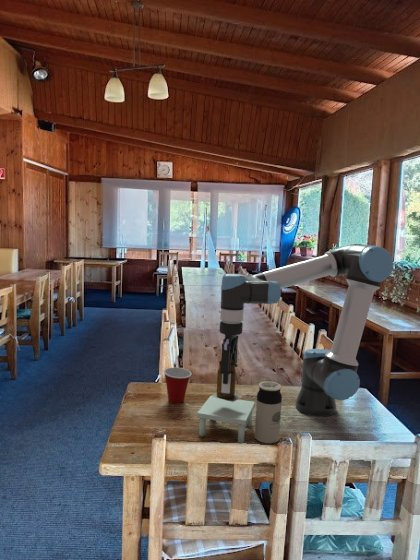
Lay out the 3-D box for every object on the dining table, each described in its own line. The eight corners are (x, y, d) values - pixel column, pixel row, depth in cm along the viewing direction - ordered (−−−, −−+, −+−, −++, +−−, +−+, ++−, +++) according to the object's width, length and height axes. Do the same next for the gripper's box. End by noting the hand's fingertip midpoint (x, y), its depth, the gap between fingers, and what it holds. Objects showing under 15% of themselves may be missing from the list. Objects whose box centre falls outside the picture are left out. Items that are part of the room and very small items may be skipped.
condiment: (222, 390, 154) (224, 356, 153) (244, 396, 150) (245, 361, 148) (210, 396, 148) (212, 361, 147) (232, 403, 144) (234, 366, 142)
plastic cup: (186, 408, 167) (187, 377, 166) (159, 404, 169) (160, 374, 168) (193, 397, 178) (194, 368, 176) (167, 394, 180) (168, 365, 179)
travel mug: (250, 434, 148) (253, 382, 146) (270, 431, 152) (273, 379, 149) (262, 445, 141) (266, 391, 139) (283, 441, 144) (287, 388, 142)
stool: (253, 423, 156) (255, 401, 155) (244, 444, 141) (245, 420, 140) (209, 416, 161) (210, 395, 160) (196, 436, 146) (197, 412, 145)
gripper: (227, 314, 156) (224, 378, 159) (212, 326, 138) (209, 397, 141) (248, 316, 154) (244, 381, 157) (236, 328, 136) (232, 401, 139)
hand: (227, 388), depth 149 cm, fingers closed on condiment, 6 cm apart
